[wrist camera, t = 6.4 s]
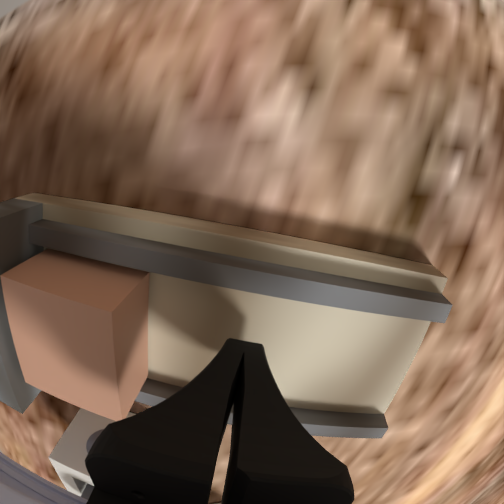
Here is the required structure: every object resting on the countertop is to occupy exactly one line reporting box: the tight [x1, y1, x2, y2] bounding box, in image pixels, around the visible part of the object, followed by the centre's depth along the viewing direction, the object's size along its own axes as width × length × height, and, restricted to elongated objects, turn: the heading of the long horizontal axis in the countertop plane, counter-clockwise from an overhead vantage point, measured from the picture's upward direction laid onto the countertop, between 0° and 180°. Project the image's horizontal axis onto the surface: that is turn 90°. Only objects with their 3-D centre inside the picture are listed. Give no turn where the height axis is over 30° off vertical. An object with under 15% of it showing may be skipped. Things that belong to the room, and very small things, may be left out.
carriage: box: [0, 248, 149, 421], centre depth 11 cm, size 5×5×3 cm
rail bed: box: [0, 193, 452, 438], centre depth 11 cm, size 19×9×6 cm, turn 80°
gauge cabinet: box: [49, 408, 136, 497], centre depth 15 cm, size 6×6×6 cm
